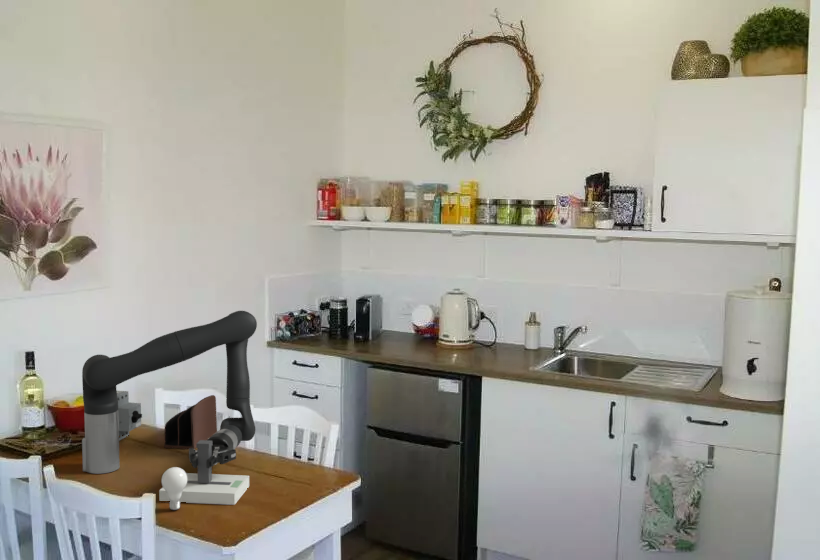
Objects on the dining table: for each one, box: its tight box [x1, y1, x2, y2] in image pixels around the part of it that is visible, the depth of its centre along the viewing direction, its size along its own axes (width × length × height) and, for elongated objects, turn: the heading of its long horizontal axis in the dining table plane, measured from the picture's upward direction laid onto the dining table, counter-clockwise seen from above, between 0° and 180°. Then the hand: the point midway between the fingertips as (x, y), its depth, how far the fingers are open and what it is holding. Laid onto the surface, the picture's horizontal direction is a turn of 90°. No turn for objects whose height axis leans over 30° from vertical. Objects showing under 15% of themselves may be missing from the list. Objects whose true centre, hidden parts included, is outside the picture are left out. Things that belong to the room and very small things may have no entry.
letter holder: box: [163, 394, 218, 450], centre depth 268 cm, size 10×20×14 cm, turn 172°
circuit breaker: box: [116, 390, 143, 441], centre depth 269 cm, size 8×14×15 cm, turn 78°
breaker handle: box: [195, 439, 213, 483], centre depth 219 cm, size 3×3×11 cm
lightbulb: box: [160, 466, 188, 511], centre depth 208 cm, size 6×6×11 cm
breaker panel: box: [158, 472, 250, 506], centre depth 220 cm, size 20×14×3 cm
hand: (201, 464), depth 217 cm, fingers closed on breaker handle, 3 cm apart
